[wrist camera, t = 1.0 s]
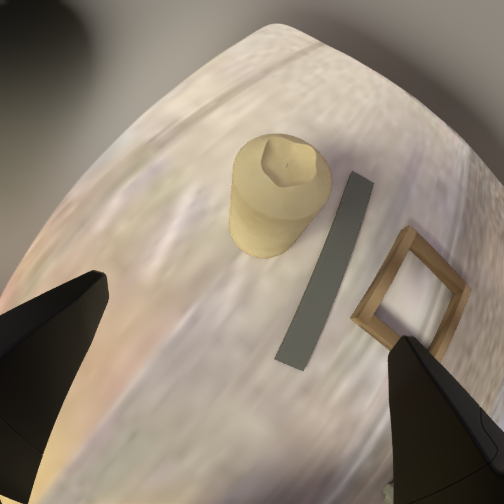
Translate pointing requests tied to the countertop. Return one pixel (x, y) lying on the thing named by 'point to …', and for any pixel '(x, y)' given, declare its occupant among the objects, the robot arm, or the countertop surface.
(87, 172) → the countertop surface
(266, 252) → the candle
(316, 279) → the strip
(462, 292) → the keeper frame
